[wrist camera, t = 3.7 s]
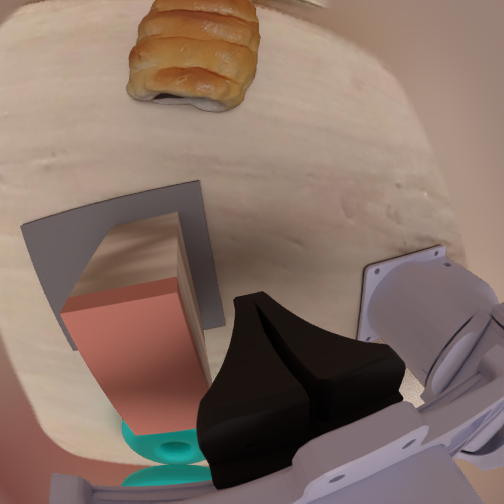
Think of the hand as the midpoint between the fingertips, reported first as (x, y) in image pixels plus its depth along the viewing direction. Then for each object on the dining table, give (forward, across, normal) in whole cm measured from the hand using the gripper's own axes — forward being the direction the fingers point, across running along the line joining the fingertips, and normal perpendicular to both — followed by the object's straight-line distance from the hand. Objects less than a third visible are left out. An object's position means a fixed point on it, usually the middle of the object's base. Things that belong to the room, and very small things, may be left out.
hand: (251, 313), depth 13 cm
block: (+6, +4, 0) cm, 8 cm away
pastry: (+7, 0, -13) cm, 15 cm away
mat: (+6, +7, 0) cm, 9 cm away
